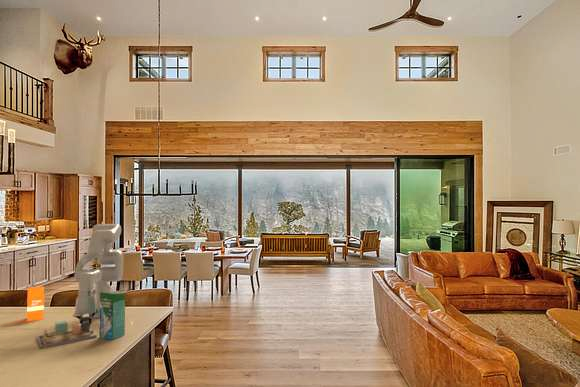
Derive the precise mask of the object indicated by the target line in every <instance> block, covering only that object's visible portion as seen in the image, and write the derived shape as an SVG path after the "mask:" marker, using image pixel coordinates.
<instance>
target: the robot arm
mask: <svg viewBox="0 0 580 387" xmlns="http://www.w3.org/2000/svg"><path fill="white" fill-rule="evenodd" d="M121 234H122V226H121V225H120V224H118V223H98V224H95V225H93V226H92V232H91V235H90V239H89V245H88V249H87V252H86V253H85V254H84V255H83V256H82V257H81V258H80V260H78V262H77V263H76V265H75V270H74V281H75V282H76V283H78V295H77V297H76V298H75V299H76V300H75V307H74V311H73V314H72V317H74V318H77V319H78V320H79V323H80V324H81V327H82V322H83V319H82V318H83V317H84V315H88V317H89V322H90V324H89V327H91V324H92V319H100V292H106V293H111V292H112V288H111V285H110V284H109V282H120V281H121V280H122V279H123V273H124V261H125V260H124V259H125V257H124V252H123V251H122V250H118V249H116V250H115V249H113V244H114V243H116V242H117V240H118V239H119V238H120V236H121ZM94 260H97V261H96V262H97V264H98V265H101V266H99V267H97V268H93V269H92V268H90V269H88V268H87V269H84V267H85V265H87V264H88V263H89V262H92V261H94ZM107 265H108V266H107ZM109 265H110V266H109ZM111 265H114V266H111Z"/></svg>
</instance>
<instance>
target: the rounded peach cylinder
mask: <svg viewBox="0 0 580 387" xmlns="http://www.w3.org/2000/svg"><path fill="white" fill-rule="evenodd" d="M71 328H72V335H79V334H81V324H80V322H78V323H73V324H71Z"/></svg>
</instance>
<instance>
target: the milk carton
mask: <svg viewBox="0 0 580 387" xmlns="http://www.w3.org/2000/svg"><path fill="white" fill-rule="evenodd" d="M125 319H126V294H125V293H120V291H119V290H111V293H106V292H100V318H99V332H98V334H99V335H98V336H99V339H103V340H110V341H113V340H116V339H118V338H121V337H122V336H125V333H126V332H125V326H126V324H125V322H126V321H125Z"/></svg>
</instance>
